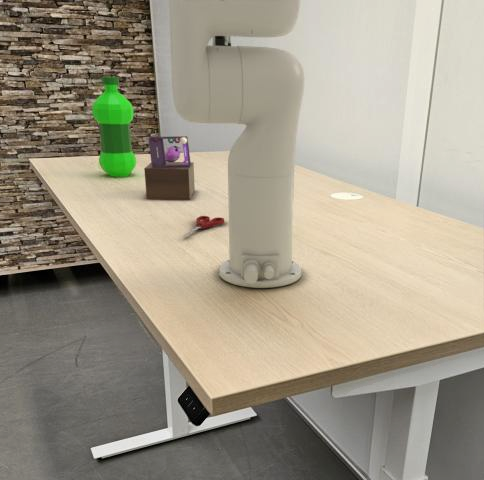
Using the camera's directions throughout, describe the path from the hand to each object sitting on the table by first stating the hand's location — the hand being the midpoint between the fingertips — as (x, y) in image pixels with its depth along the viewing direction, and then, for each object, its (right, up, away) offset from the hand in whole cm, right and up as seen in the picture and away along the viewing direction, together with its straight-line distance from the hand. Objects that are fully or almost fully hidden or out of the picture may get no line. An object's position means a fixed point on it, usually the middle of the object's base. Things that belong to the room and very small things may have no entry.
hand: (222, 69), depth 113 cm
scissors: (-4, -32, -2) cm, 32 cm away
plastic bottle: (-34, -9, +47) cm, 59 cm away
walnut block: (-16, -19, +26) cm, 35 cm away
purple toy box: (-15, -13, +23) cm, 30 cm away
